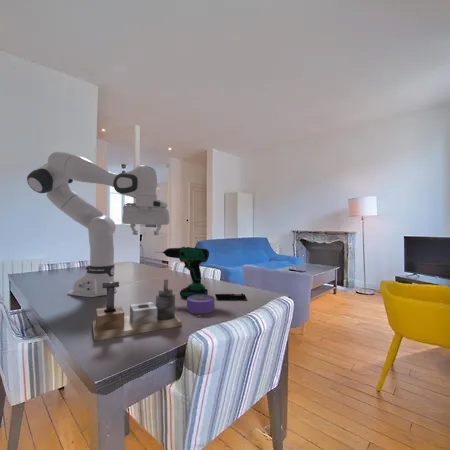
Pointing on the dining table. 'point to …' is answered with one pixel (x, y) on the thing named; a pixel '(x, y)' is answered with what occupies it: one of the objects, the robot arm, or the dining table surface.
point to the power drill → (191, 267)
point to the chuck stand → (137, 317)
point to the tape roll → (200, 304)
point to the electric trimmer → (230, 296)
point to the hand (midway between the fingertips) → (145, 235)
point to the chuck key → (110, 295)
